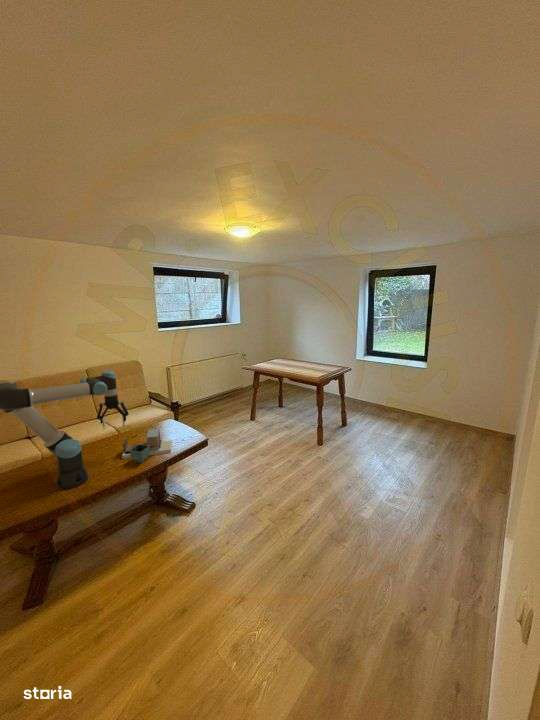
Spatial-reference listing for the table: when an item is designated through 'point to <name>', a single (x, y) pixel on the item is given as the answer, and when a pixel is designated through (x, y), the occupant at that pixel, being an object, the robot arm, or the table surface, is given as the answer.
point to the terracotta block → (153, 442)
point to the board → (164, 449)
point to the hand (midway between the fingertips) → (114, 426)
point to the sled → (128, 447)
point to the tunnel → (153, 434)
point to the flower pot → (139, 453)
